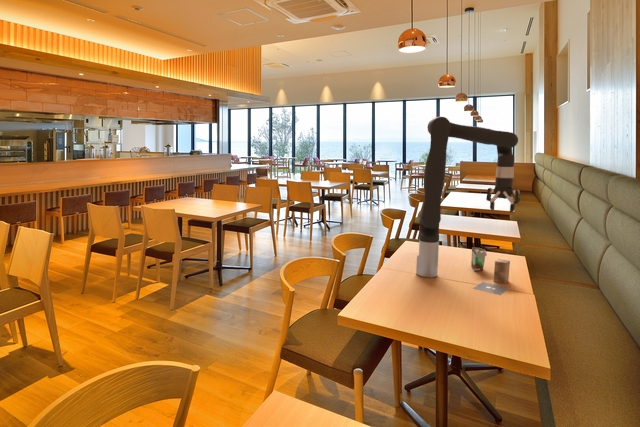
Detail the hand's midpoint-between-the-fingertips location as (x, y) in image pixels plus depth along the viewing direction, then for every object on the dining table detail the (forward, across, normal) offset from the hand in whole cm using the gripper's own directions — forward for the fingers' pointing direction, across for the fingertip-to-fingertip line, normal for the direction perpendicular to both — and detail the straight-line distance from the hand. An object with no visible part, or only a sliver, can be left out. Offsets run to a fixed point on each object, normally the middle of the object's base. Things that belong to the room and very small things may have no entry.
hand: (501, 211), depth 191 cm
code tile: (+32, +4, -18) cm, 37 cm away
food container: (+32, -11, +6) cm, 35 cm away
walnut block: (+32, +4, -6) cm, 33 cm away
